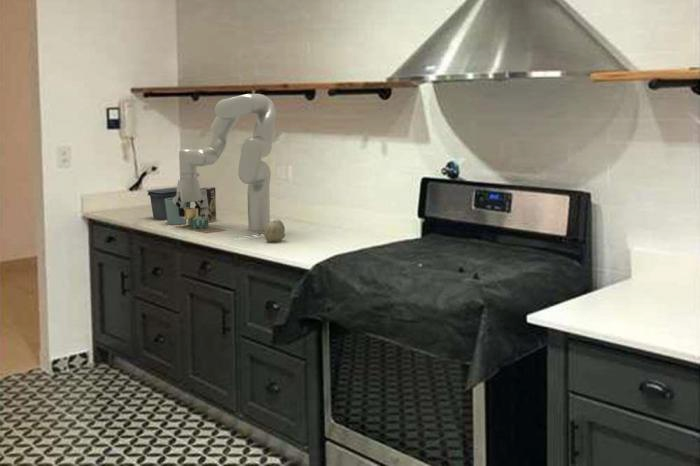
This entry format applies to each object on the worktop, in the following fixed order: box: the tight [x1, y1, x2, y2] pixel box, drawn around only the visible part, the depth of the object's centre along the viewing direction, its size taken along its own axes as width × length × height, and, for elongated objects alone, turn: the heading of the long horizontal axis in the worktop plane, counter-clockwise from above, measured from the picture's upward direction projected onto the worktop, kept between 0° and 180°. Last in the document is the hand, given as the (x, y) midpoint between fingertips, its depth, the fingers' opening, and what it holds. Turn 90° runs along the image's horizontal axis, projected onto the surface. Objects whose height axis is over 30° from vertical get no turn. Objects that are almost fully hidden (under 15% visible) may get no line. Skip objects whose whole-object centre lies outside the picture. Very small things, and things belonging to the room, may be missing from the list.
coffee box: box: [198, 186, 217, 224], centre depth 392 cm, size 9×6×16 cm
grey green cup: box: [165, 198, 187, 226], centre depth 386 cm, size 10×10×12 cm
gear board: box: [174, 217, 227, 234], centre depth 362 cm, size 26×11×6 cm, turn 41°
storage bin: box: [146, 186, 191, 221], centre depth 406 cm, size 21×16×14 cm
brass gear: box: [181, 207, 198, 220], centre depth 368 cm, size 8×8×4 cm
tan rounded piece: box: [261, 219, 286, 243], centre depth 336 cm, size 9×8×10 cm
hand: (189, 215), depth 369 cm, fingers closed on brass gear, 7 cm apart
